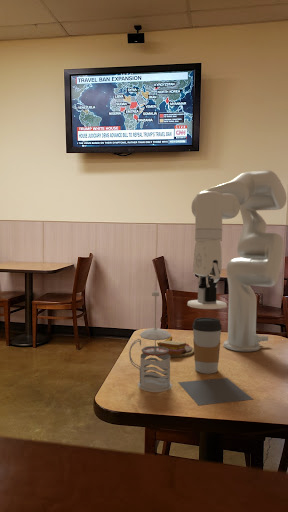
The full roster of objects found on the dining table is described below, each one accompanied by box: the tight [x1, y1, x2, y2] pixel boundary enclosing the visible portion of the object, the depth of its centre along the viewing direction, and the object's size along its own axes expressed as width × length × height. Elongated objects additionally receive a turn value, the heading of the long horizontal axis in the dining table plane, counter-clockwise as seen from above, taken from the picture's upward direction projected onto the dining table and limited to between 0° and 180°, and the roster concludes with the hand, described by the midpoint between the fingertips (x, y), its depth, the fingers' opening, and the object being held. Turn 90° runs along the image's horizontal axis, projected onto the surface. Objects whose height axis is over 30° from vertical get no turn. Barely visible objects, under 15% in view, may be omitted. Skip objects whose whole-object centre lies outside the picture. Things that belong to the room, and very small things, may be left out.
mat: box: [178, 377, 254, 406], centre depth 96 cm, size 14×14×1 cm
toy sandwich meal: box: [156, 335, 194, 358], centre depth 129 cm, size 12×14×5 cm
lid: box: [187, 287, 228, 310], centre depth 109 cm, size 11×11×5 cm
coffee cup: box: [192, 317, 222, 375], centre depth 110 cm, size 8×8×15 cm
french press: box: [128, 290, 173, 393], centre depth 99 cm, size 10×12×25 cm
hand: (207, 299), depth 110 cm, fingers closed on lid, 4 cm apart
